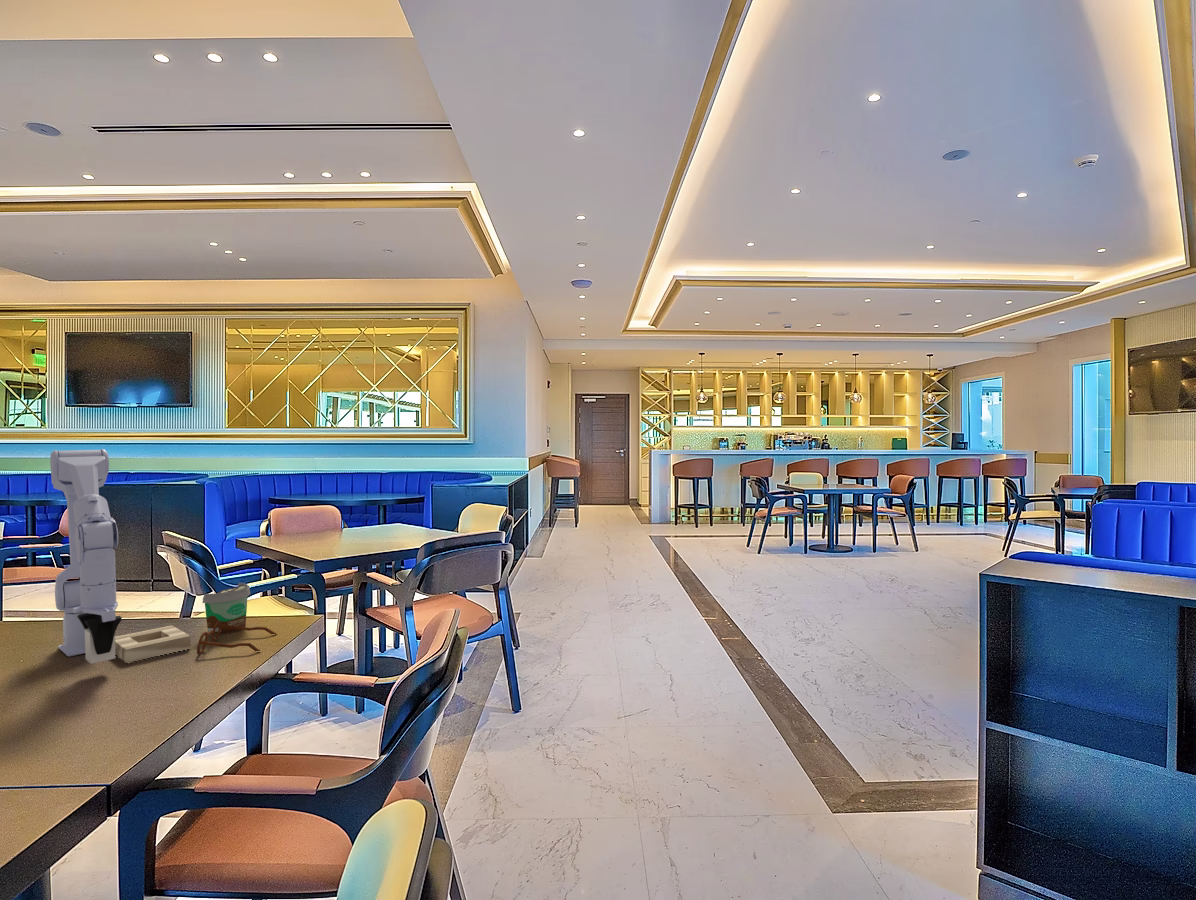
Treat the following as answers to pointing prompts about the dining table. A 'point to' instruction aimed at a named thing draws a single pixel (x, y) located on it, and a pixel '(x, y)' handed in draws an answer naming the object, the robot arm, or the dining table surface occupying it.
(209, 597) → the food container
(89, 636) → the connector plug
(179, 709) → the dining table surface
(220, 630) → the glasses
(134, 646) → the holder
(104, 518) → the robot arm
